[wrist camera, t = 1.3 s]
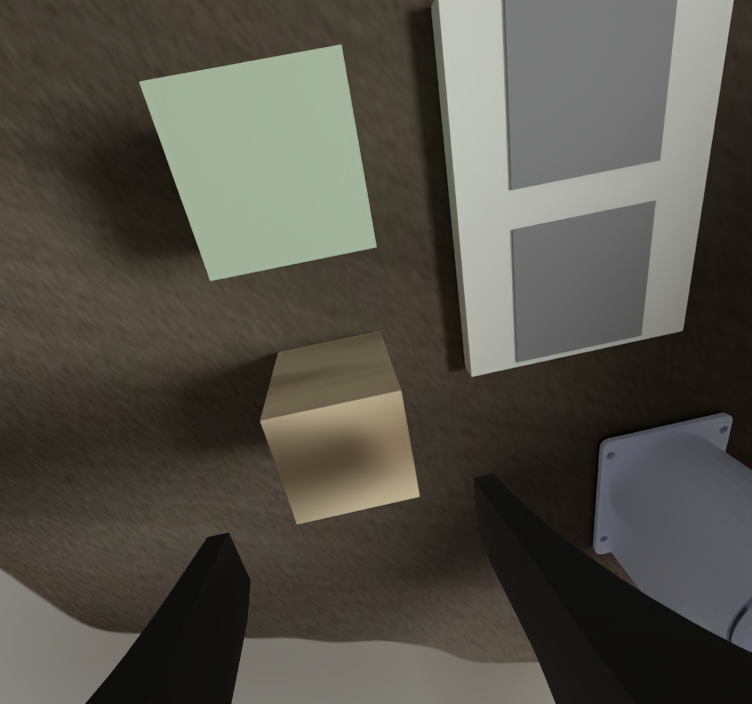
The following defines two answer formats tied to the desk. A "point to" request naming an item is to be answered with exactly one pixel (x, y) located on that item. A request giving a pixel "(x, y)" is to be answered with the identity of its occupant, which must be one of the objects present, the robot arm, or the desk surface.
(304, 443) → the wooden toy cube
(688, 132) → the board
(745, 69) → the desk surface
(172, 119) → the sage post
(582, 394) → the desk surface
